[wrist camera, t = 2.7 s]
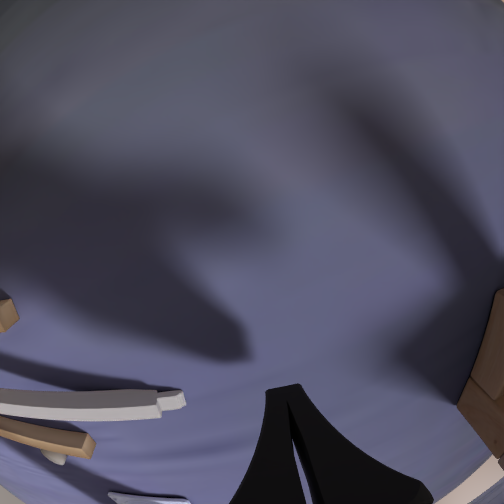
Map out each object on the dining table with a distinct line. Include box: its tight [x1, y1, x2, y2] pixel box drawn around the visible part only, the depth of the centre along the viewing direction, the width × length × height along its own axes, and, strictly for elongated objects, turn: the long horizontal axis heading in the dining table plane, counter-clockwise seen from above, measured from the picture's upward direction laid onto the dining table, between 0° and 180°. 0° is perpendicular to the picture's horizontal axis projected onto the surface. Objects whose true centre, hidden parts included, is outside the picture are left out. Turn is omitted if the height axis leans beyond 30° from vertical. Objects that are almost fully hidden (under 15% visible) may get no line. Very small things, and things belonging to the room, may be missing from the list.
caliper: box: [0, 388, 186, 421], centre depth 10 cm, size 20×1×6 cm, turn 94°
